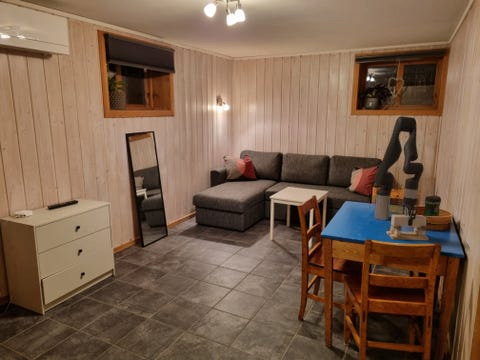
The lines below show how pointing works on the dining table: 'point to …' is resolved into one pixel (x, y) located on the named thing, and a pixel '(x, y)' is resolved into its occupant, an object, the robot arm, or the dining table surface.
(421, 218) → the beige long block
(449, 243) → the dining table surface
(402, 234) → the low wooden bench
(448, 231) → the dining table surface
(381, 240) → the dining table surface
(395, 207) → the decorative tile
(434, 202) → the coffee jar
